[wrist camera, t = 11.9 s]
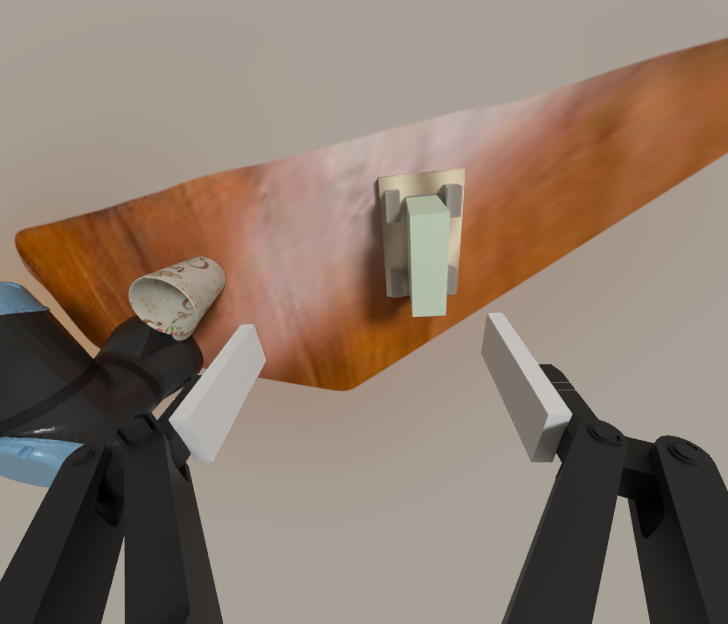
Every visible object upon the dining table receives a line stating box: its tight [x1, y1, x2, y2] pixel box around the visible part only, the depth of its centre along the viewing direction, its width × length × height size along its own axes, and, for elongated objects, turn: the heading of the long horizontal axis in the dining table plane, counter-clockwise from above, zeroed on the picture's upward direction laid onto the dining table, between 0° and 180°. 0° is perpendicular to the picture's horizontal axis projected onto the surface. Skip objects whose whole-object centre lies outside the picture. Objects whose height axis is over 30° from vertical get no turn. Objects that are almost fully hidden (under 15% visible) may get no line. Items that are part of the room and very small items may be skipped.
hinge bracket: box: [378, 168, 465, 298], centre depth 37 cm, size 10×16×4 cm, turn 6°
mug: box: [129, 257, 226, 340], centre depth 41 cm, size 8×13×10 cm, turn 166°
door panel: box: [405, 194, 450, 317], centre depth 33 cm, size 4×11×10 cm, turn 6°
